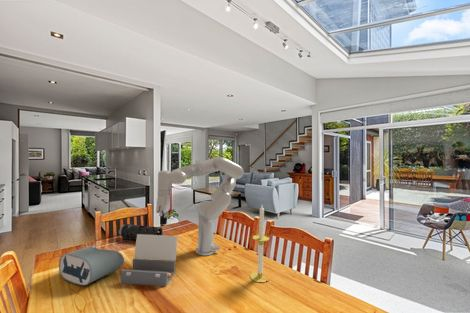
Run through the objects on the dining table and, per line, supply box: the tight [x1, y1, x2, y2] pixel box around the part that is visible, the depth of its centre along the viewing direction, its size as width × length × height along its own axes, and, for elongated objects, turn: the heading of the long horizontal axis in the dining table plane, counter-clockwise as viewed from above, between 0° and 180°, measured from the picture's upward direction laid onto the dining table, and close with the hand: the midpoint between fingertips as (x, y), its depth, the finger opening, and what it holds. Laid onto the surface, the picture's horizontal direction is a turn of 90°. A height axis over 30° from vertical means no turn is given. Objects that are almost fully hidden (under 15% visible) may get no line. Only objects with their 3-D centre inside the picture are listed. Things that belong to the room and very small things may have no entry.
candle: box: [249, 204, 270, 283], centre depth 114 cm, size 10×10×38 cm
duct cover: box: [133, 234, 179, 262], centre depth 120 cm, size 22×12×1 cm
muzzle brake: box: [118, 223, 163, 241], centre depth 158 cm, size 10×28×10 cm, turn 80°
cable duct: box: [120, 258, 176, 287], centre depth 112 cm, size 22×13×6 cm, turn 86°
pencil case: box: [58, 244, 125, 286], centre depth 114 cm, size 22×19×13 cm
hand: (163, 223), depth 131 cm, fingers closed
